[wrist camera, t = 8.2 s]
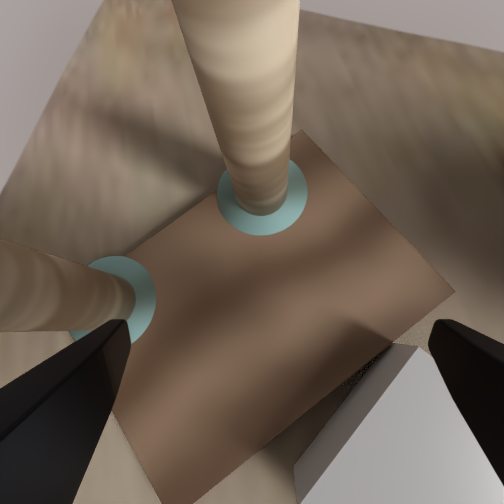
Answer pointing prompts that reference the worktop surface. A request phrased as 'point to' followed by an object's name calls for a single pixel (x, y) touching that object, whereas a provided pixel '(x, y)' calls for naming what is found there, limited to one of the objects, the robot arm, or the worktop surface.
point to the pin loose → (247, 89)
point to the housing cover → (397, 442)
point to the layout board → (257, 319)
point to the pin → (57, 293)
